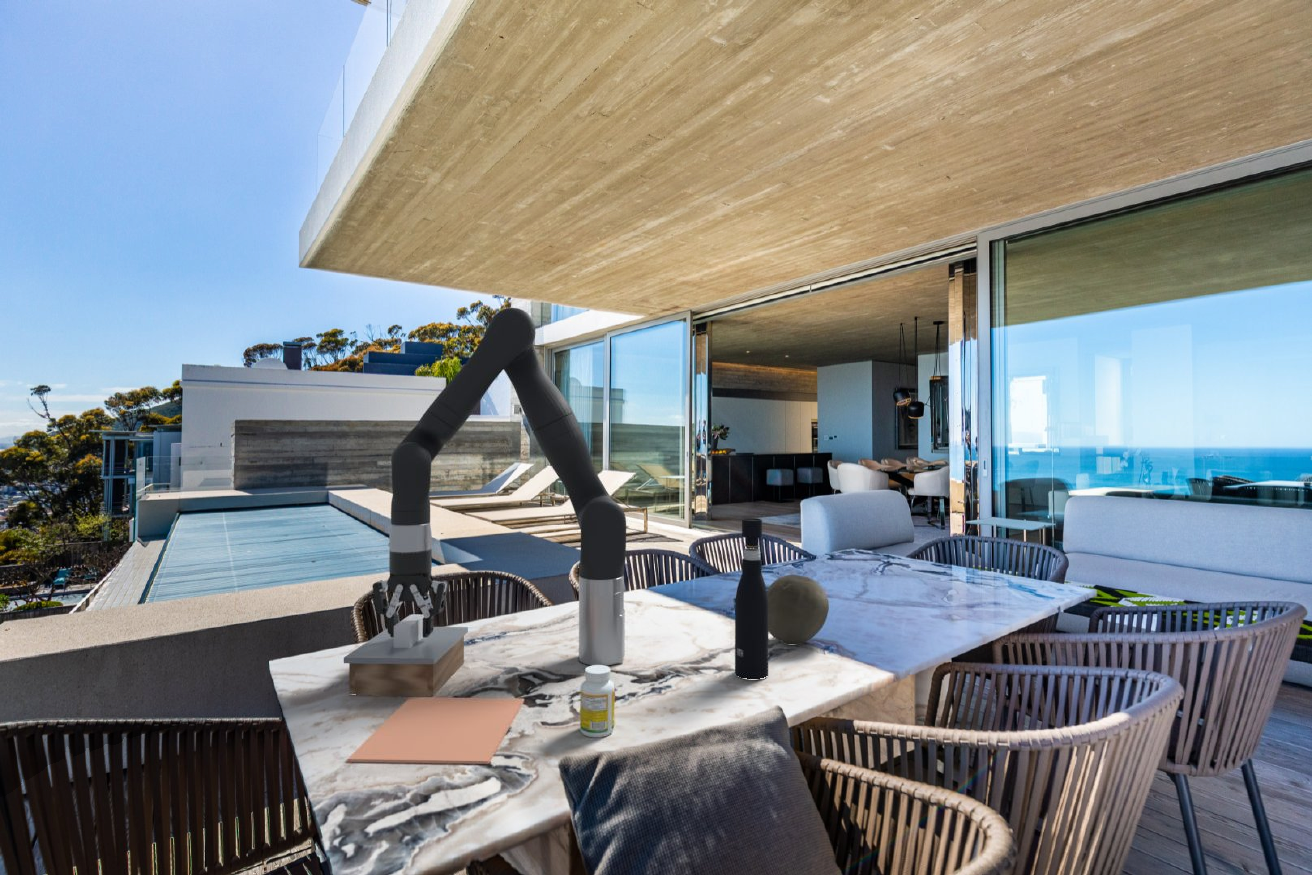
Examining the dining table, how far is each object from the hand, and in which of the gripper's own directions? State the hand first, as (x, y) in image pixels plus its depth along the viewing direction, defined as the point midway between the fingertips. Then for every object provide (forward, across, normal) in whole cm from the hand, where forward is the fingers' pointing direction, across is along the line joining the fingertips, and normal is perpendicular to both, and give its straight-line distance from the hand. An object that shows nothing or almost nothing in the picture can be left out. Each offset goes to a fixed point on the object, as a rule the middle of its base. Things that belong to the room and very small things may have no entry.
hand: (410, 635), depth 124 cm
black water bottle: (+8, -65, -4) cm, 66 cm away
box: (+8, 0, 0) cm, 8 cm away
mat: (+8, -14, +21) cm, 26 cm away
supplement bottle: (+8, -38, +21) cm, 44 cm away
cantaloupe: (+8, -77, -24) cm, 81 cm away
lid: (+2, 0, 0) cm, 2 cm away
